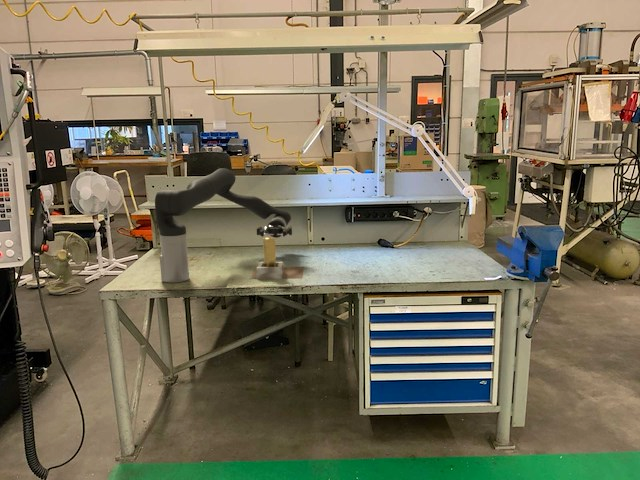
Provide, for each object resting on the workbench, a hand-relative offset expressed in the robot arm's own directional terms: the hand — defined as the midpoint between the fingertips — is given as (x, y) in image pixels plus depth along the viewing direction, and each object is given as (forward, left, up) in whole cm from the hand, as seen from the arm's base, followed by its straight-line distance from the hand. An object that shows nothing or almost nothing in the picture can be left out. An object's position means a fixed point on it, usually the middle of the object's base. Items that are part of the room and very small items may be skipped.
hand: (273, 234), depth 187 cm
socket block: (+2, -9, -14) cm, 17 cm away
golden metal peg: (0, -13, -13) cm, 18 cm away
